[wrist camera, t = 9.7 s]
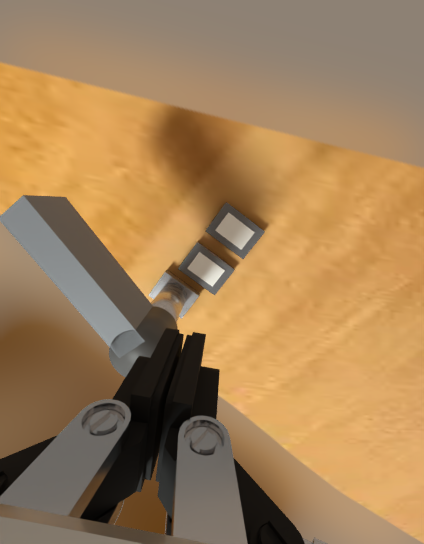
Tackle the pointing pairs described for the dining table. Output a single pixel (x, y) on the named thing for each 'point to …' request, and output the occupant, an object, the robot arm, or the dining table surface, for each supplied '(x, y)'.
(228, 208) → the label plate
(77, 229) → the swing bar
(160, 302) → the bar post
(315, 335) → the dining table surface
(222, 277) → the label plate
